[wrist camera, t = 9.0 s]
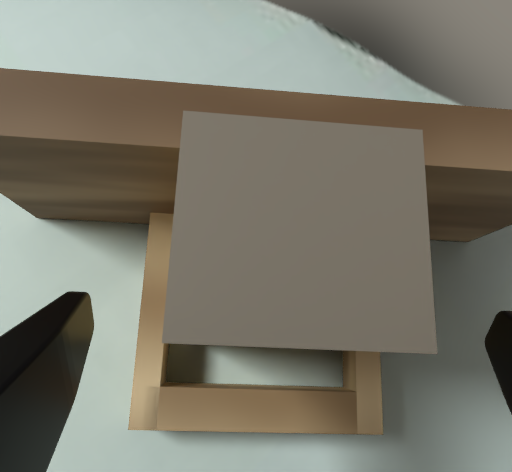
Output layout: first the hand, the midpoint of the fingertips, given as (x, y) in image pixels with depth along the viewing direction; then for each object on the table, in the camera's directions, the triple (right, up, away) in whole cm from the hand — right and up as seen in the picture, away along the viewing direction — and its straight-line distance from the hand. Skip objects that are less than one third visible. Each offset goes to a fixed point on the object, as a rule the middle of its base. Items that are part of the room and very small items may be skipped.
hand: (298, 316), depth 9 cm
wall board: (-1, -2, +9) cm, 9 cm away
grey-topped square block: (-1, -1, +9) cm, 10 cm away
